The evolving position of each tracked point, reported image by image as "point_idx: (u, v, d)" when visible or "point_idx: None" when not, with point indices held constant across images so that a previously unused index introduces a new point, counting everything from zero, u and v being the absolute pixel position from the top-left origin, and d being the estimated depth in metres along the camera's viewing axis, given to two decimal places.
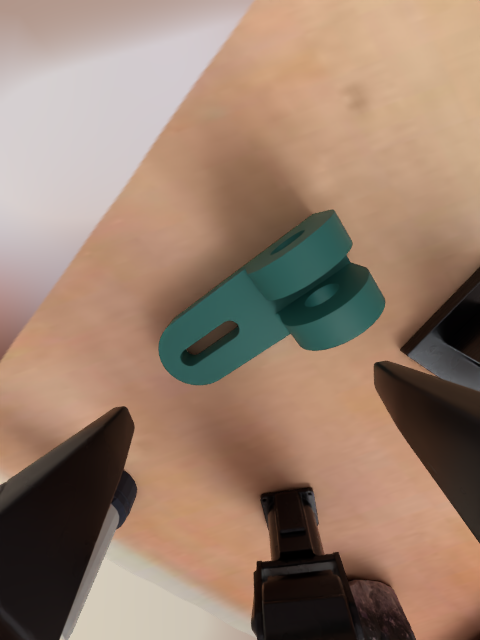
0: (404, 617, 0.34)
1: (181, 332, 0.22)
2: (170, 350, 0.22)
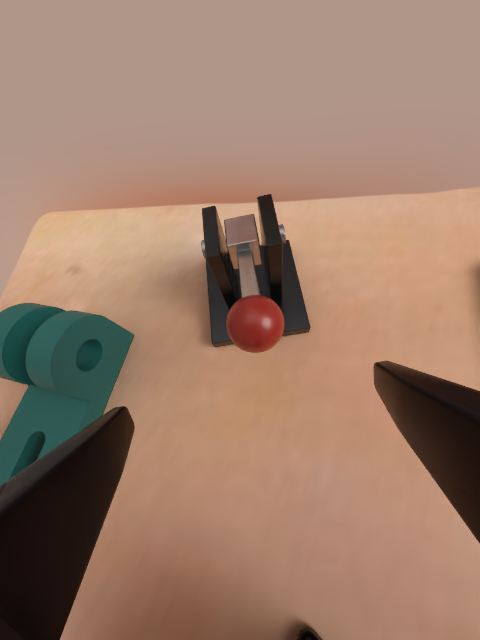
0: None
1: None
2: None
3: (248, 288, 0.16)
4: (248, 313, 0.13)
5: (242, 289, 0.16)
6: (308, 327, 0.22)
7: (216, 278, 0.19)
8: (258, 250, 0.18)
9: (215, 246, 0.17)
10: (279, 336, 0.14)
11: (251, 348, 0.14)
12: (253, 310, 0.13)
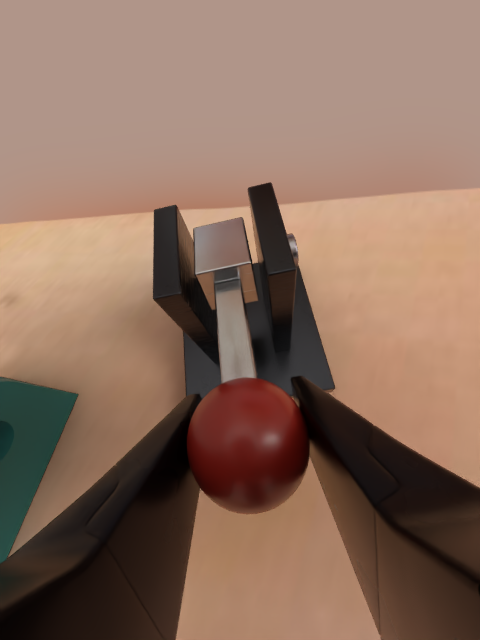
0: None
1: None
2: None
3: (233, 358, 0.08)
4: (229, 443, 0.06)
5: (222, 360, 0.08)
6: (332, 388, 0.15)
7: (182, 326, 0.11)
8: (252, 279, 0.10)
9: (171, 277, 0.09)
10: (301, 479, 0.06)
11: None
12: (241, 434, 0.06)
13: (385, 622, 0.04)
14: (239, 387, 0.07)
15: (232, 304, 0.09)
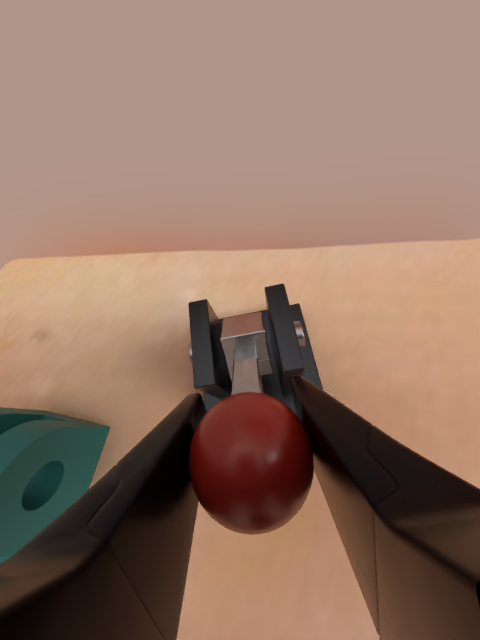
0: None
1: None
2: None
3: (243, 390, 0.09)
4: (229, 417, 0.06)
5: (233, 392, 0.09)
6: None
7: (211, 394, 0.14)
8: (265, 348, 0.12)
9: (208, 369, 0.12)
10: (303, 485, 0.06)
11: (233, 515, 0.06)
12: (241, 411, 0.06)
13: (384, 622, 0.04)
14: (244, 393, 0.08)
15: (247, 359, 0.11)
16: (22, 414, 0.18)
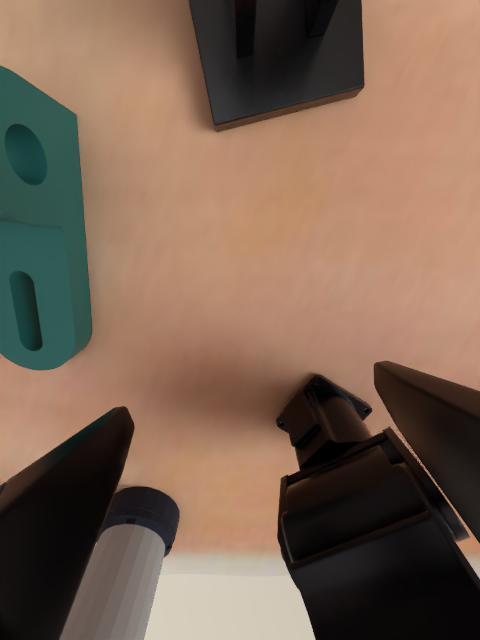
0: None
1: None
2: (12, 349, 0.19)
3: None
4: None
5: None
6: (361, 86, 0.15)
7: None
8: None
9: None
10: None
11: None
12: None
13: None
14: None
15: None
16: None
